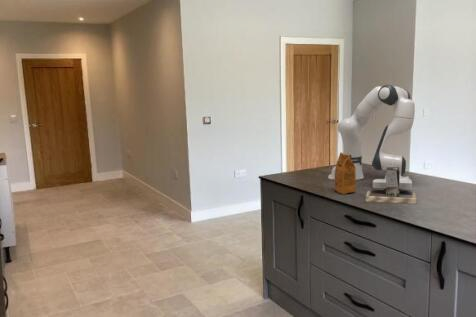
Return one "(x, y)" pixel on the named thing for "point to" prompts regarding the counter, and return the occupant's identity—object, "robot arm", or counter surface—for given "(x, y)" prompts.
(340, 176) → the coffee package
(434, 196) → the counter surface
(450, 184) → the counter surface
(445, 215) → the counter surface
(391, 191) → the coffee box
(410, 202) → the birch bay
